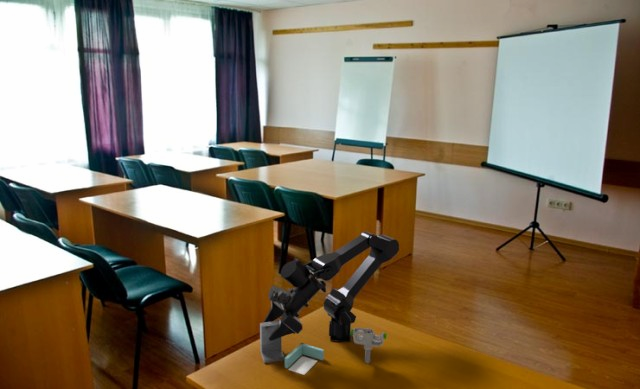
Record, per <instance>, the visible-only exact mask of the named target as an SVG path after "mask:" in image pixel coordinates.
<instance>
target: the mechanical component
mask: <svg viewBox="0 0 640 389" xmlns="http://www.w3.org/2000/svg"><path fill="white" fill-rule="evenodd" d="M350 331H351V336H352V337H353V340H352V341H353V342H354V344H355V345H361V346H362V345H363V349H364V352H365V353H364V363H365V364H370V363H371V351H372V350H373V347H377V348H379V347H382V346H383V345H384V340H387V333H385V332H384V331H382V332H381V334H376V333H375V332H374V331H375V330H374V329H373V328H364V327H355V326H354V328H353V329H352V328H351V330H350Z"/></svg>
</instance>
